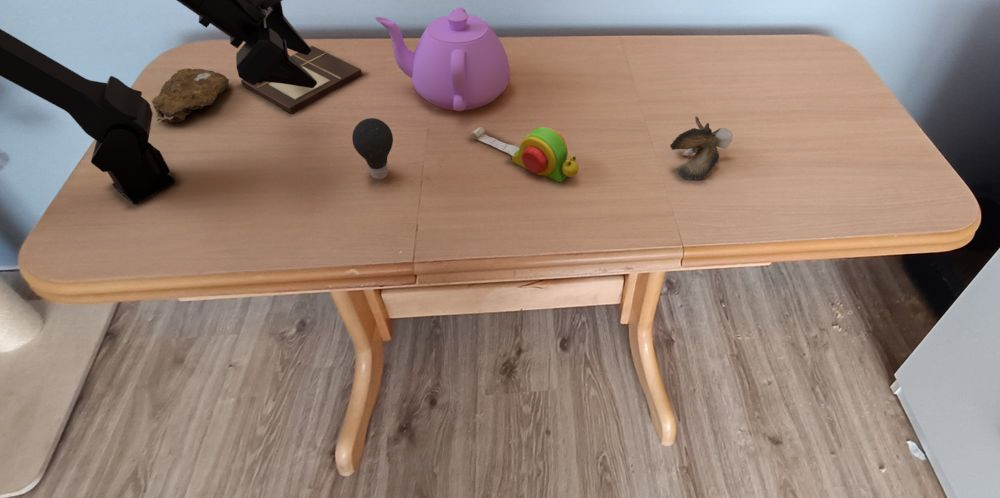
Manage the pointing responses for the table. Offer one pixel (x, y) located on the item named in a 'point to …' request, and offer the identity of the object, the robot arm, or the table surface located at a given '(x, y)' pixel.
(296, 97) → the picture frame
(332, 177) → the table surface
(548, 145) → the toy measuring tape
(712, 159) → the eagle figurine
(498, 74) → the teapot
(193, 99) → the decorative rock
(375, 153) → the light bulb
